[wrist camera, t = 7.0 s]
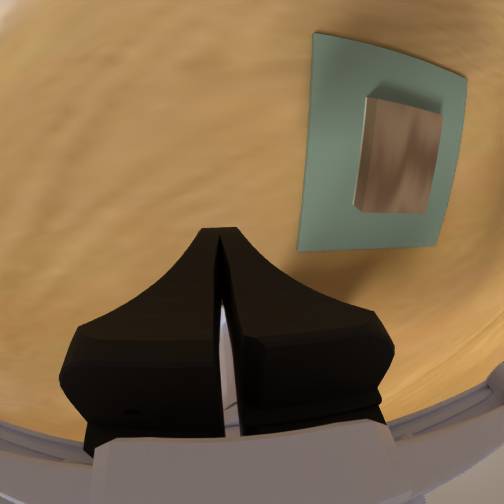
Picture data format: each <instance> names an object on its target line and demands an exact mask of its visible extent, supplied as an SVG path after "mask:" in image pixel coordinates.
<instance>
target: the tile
mask: <svg viewBox="0 0 504 504" xmlns="http://www.w3.org/2000/svg"><path fill="white" fill-rule="evenodd" d="M442 123H443V115H440V114H437V113H433V112H430V111H426V110H423V109H419V108H415V107H411V106H407V105H403V104H399V103H395V102H390V101H386V100H381V99H376V98H369V97H366V100H365V111H364V122H363V132H362V140H361V149H360V157H359V164H358V171H357V178H356V185H355V192H354V198H353V205H354V206H355V207H356V208H357V209H358V210H360V211H361V212H362V213H409V214H425V211H426V207H427V203H428V199H429V195H430V190H431V186H432V181H433V176H434V172H435V166H436V161H437V156H438V150H439V144H440V137H441V130H442Z"/></svg>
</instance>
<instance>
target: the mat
mask: <svg viewBox="0 0 504 504" xmlns="http://www.w3.org/2000/svg"><path fill="white" fill-rule="evenodd" d="M467 80H468V79H465V78H463V77H461V76H459V75H457V74H455V73H452V72H450V71H448V70H445V69H443V68H440V67H438V66H435V65H433V64H430V63H428V62H425V61H422V60H420V59H417V58H414V57H411V56H408V55H405V54H402V53H399V52H396V51H392V50H389V49H385V48H382V47H378V46H375V45H371V44H367V43H363V42H359V41H354V40H350V39H345V38H340V37H335V36H330V35H324V34H318V33H313V37H312V66H311V88H310V106H309V121H308V136H307V149H306V161H305V173H304V184H303V195H302V205H301V215H300V224H299V233H298V242H297V251H298V252H311V251H335V250H358V249H381V248H404V247H427V246H435V245H436V242H437V239H438V236H439V233H440V229H441V226H442V223H443V219H444V216H445V212H446V208H447V204H448V201H449V197H450V193H451V188H452V184H453V180H454V175H455V170H456V166H457V160H458V155H459V149H460V144H461V137H462V130H463V123H464V115H465V106H466V95H467ZM366 97H369V98H376V99H381V100H386V101H390V102H395V103H399V104H403V105H407V106H411V107H415V108H419V109H423V110H426V111H430V112H433V113H437V114H440V115H443V123H442V130H441V137H440V144H439V150H438V156H437V161H436V166H435V172H434V176H433V181H432V186H431V190H430V195H429V199H428V203H427V207H426V211H425V214H409V213H362V212H361V211H360V210H358V209H357V208H356V207H355V206H354V205H353V198H354V192H355V185H356V178H357V171H358V164H359V157H360V149H361V140H362V132H363V122H364V111H365V100H366Z"/></svg>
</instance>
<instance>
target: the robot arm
mask: <svg viewBox="0 0 504 504" xmlns="http://www.w3.org/2000/svg"><path fill="white" fill-rule="evenodd" d="M222 301H223V305H222ZM394 355H395V346H394V344H393V342H392V340H391V338H390V336H389V334H388V333H387V331H386V329H385V327H384V325H383V324H382V322H381V321H380V319H379V318H378V316H377V315H376V314H375V312H374V311H371V310H367V309H364V308H360V307H357V306H354V305H350V304H347V303H344V302H341V301H339V300H336V299H334V298H331V297H329V296H326V295H324V294H321V293H319V292H317V291H315V290H313V289H311V288H309V287H307V286H305V285H303V284H301V283H300V282H298V281H296V280H294V279H293V278H291V277H290V276H288V275H287V274H285V273H284V272H282V271H281V270H279V269H278V268H277V267H275V266H274V265H273V264H271V263H270V262H269V261H268V260H267V259H266V258H264V257H263V256H262V255H261V254H260V253H259V252H258V251H257V250H256V249H255V248H254V247H253V246H252V245H251V243H250V242H249V241H248V240H247V239H246V238H245V237H244V235H243V234H242V233H241V232H240V230H239V229H238V228H237V227H221V228H202V229H201V230H200V231H199V232H198V234H197V236H196V237H195V239H194V240H193V242H192V243H191V245H190V246H189V247H188V249H187V250H186V251H185V252H184V254H183V255H182V256H181V258H180V259H179V260H178V261H177V262H176V263H175V264H174V265H173V267H172V268H171V269H170V270H169V271H168V272H167V273H166V274H165V275H164V276H163V277H161V278H160V279H159V280H158V281H157V282H156V283H154V284H153V285H152V286H150V287H149V288H148V289H146V290H145V291H144V292H142V293H141V294H139V295H138V296H137V297H135V298H134V299H132V300H130V301H129V302H127V303H126V304H124V305H122V306H120V307H119V308H117V309H115V310H113V311H111V312H109V313H107V314H105V315H103V316H101V317H99V318H97V319H94V320H92V321H90V322H88V323H86V324H83V325H81V326H78V328H77V330H76V332H75V334H74V336H73V338H72V341H71V343H70V346H69V349H68V351H67V354H66V357H65V360H64V363H63V366H62V369H61V372H60V375H59V382H60V386H61V388H62V390H63V391H64V393H65V395H66V396H67V398H68V399H69V400H70V402H71V403H72V404H73V406H74V407H75V408H76V409H77V410H78V412H79V413H80V414H81V415H82V416H83V418H84V419H85V420H86V421H87V422H88V423H87V429H86V434H85V440H84V442H80V441H75V440H70V439H65V438H61V437H56V436H52V435H48V434H44V433H41V432H37V431H33V430H30V429H27V428H23V427H20V426H17V425H14V424H11V423H8V422H5V421H2V420H0V496H2V497H3V498H5V499H7V500H9V501H11V502H14V503H15V504H426V501H425V498H424V496H423V495H425V494H427V493H429V492H430V491H432V490H434V489H436V488H438V487H440V486H441V485H443V484H445V483H447V482H449V481H450V480H452V479H454V478H456V477H457V476H459V475H461V474H462V473H464V472H465V471H467V470H468V469H470V468H472V467H473V466H475V465H476V464H478V463H479V462H481V461H482V460H483V459H485V458H486V457H488V456H489V455H490V454H492V453H493V452H495V450H497V449H498V448H500V447H501V446H502V445H504V361H503V362H502V363H500V364H499V365H498V366H497V367H496V368H495V369H494V370H493V371H492V372H491V373H490V375H489V376H488V378H487V380H486V381H485V382H482V383H480V384H479V385H477V386H475V387H473V388H471V389H469V390H466V391H464V392H462V393H460V394H458V395H456V396H454V397H451V398H449V399H447V400H445V401H442V402H440V403H438V404H435V405H433V406H430V407H428V408H425V409H423V410H420V411H417V412H415V413H412V414H409V415H406V416H404V417H401V418H398V419H395V420H392V421H389V422H385V420H384V417H383V415H382V413H381V410H380V408H379V404H380V403H381V402H382V397H381V395H380V393H379V391H378V389H377V387H378V386H379V384H380V382H381V381H382V379H383V377H384V376H385V374H386V372H387V370H388V369H389V367H390V365H391V362H392V360H393V357H394Z"/></svg>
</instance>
